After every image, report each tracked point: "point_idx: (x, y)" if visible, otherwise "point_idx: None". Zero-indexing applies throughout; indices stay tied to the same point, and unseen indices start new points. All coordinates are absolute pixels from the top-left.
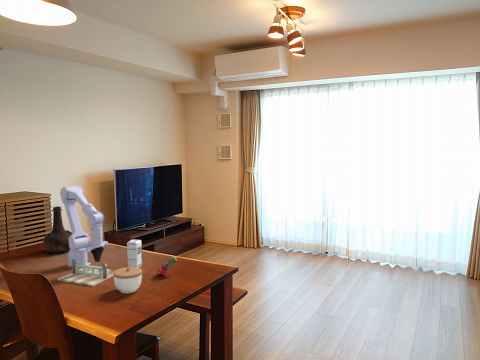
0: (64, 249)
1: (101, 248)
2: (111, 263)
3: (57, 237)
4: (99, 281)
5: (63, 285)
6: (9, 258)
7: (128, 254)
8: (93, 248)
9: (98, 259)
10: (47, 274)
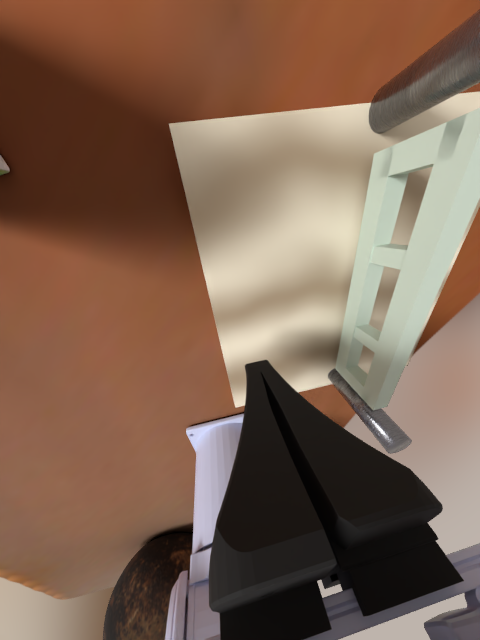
0: (174, 548)
1: (313, 573)
2: (93, 377)
3: None
4: (453, 97)
5: (456, 295)
6: None
7: None
8: (466, 591)
9: (277, 373)
10: (345, 425)
